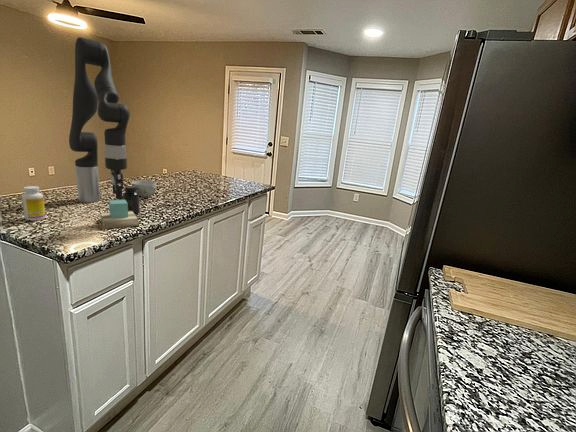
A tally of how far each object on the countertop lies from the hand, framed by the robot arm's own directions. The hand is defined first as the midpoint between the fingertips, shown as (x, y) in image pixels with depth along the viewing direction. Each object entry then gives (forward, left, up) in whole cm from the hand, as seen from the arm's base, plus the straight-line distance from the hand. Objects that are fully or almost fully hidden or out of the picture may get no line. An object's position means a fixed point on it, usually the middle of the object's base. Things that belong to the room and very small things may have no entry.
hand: (117, 196), depth 126 cm
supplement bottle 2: (-14, +7, -12) cm, 19 cm away
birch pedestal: (0, 0, -11) cm, 11 cm away
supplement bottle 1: (-14, -28, -12) cm, 33 cm away
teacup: (-43, +19, -12) cm, 48 cm away
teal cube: (0, 0, -8) cm, 8 cm away
